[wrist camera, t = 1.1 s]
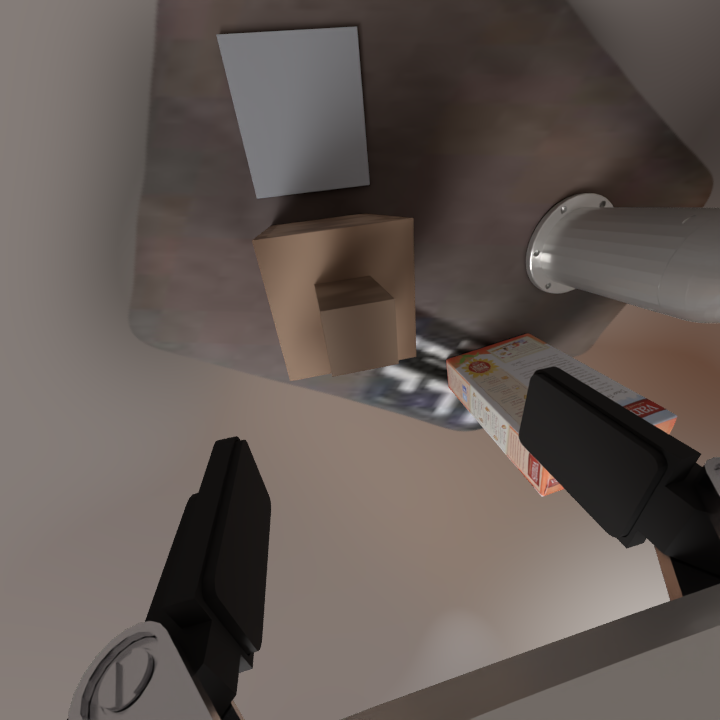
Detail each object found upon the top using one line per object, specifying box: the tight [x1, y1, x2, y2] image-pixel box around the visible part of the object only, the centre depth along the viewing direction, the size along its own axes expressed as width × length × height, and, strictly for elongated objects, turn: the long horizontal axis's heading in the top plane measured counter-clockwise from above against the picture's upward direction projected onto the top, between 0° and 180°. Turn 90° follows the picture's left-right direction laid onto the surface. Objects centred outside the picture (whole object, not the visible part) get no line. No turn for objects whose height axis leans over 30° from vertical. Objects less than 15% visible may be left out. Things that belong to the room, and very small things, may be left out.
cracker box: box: [446, 333, 677, 496], centre depth 37 cm, size 14×6×21 cm, turn 103°
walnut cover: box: [252, 213, 416, 381], centre depth 26 cm, size 11×11×22 cm
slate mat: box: [217, 27, 370, 199], centre depth 28 cm, size 12×12×1 cm
